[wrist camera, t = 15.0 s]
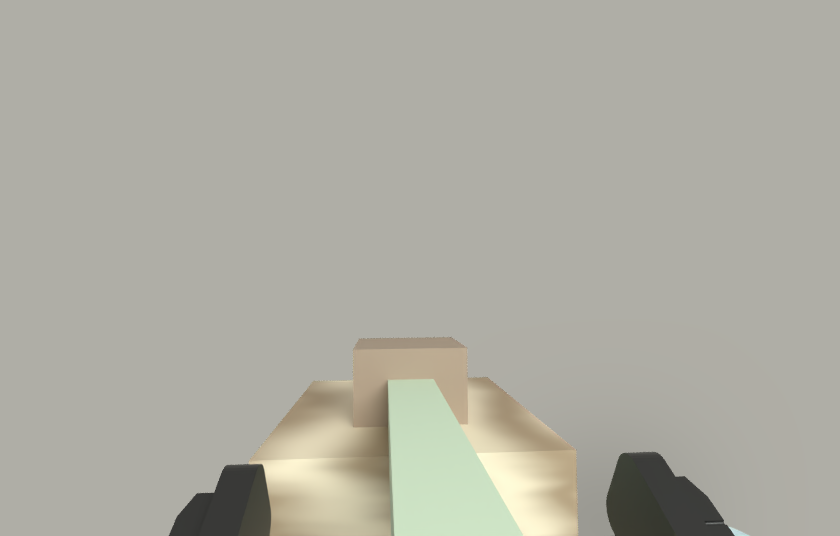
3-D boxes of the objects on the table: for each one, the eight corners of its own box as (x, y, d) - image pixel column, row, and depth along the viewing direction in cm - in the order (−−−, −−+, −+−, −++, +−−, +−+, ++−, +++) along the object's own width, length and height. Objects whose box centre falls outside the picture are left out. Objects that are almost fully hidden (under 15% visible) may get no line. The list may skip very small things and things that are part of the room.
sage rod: (451, 399, 31) (451, 337, 31) (703, 792, 7) (691, 496, 7) (359, 401, 31) (359, 338, 31) (258, 833, 6) (262, 514, 6)
